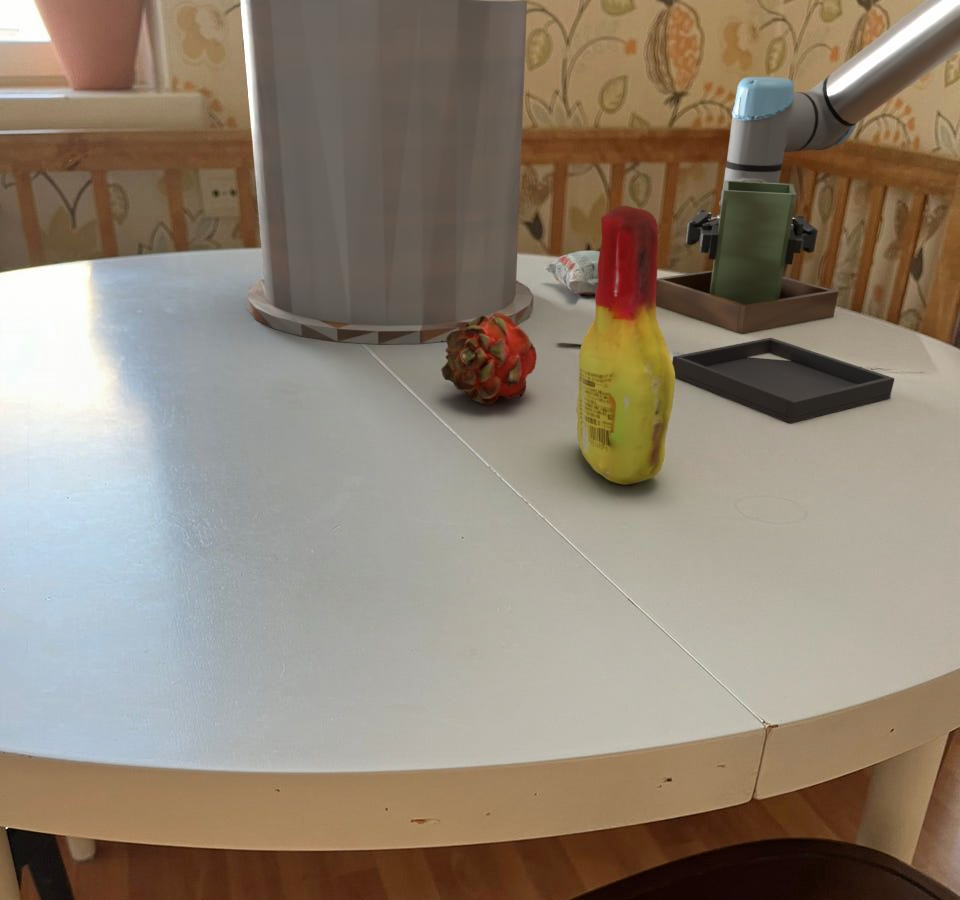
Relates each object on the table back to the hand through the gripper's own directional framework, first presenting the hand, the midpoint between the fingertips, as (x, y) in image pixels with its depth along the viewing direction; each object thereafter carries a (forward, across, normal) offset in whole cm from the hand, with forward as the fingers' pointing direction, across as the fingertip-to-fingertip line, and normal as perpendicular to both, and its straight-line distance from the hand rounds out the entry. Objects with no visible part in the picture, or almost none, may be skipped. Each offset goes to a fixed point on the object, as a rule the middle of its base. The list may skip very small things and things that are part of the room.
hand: (751, 249), depth 120 cm
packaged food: (-10, +20, -9) cm, 24 cm away
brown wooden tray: (-5, 0, -9) cm, 10 cm away
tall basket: (-5, 0, -8) cm, 9 cm away
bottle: (+48, +11, -9) cm, 50 cm away
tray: (+23, -4, -9) cm, 25 cm away
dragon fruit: (+33, +24, -9) cm, 42 cm away
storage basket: (+2, +42, -9) cm, 43 cm away
